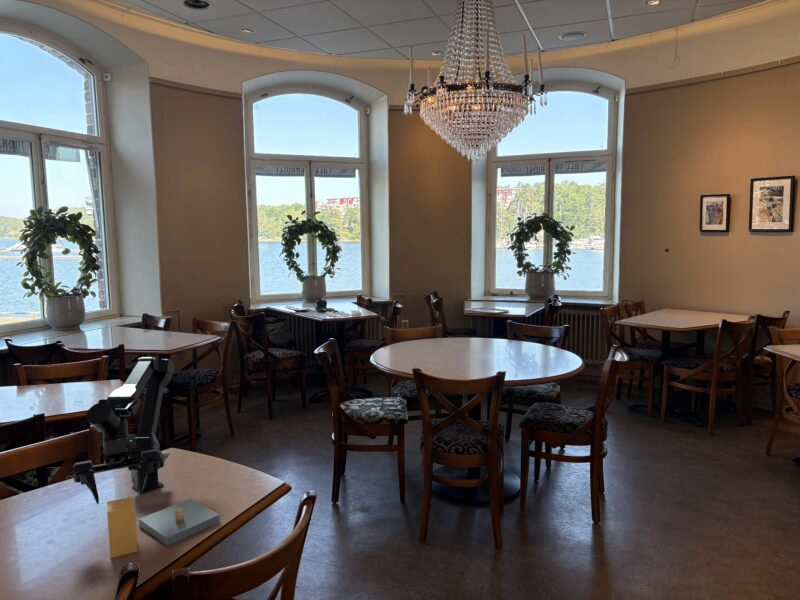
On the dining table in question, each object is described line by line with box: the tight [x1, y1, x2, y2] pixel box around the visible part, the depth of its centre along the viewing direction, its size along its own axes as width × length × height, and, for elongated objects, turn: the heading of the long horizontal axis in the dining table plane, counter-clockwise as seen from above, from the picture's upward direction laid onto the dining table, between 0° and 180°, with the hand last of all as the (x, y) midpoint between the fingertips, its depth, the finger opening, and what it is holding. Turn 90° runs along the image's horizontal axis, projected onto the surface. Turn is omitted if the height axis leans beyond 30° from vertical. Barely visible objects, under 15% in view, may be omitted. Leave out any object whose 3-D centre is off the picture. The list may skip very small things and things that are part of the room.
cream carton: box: [106, 496, 139, 559], centre depth 128 cm, size 6×6×11 cm
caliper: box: [130, 451, 171, 480], centre depth 175 cm, size 20×1×6 cm, turn 174°
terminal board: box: [138, 498, 221, 547], centre depth 139 cm, size 14×14×5 cm
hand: (119, 498), depth 131 cm, fingers open, 9 cm apart
